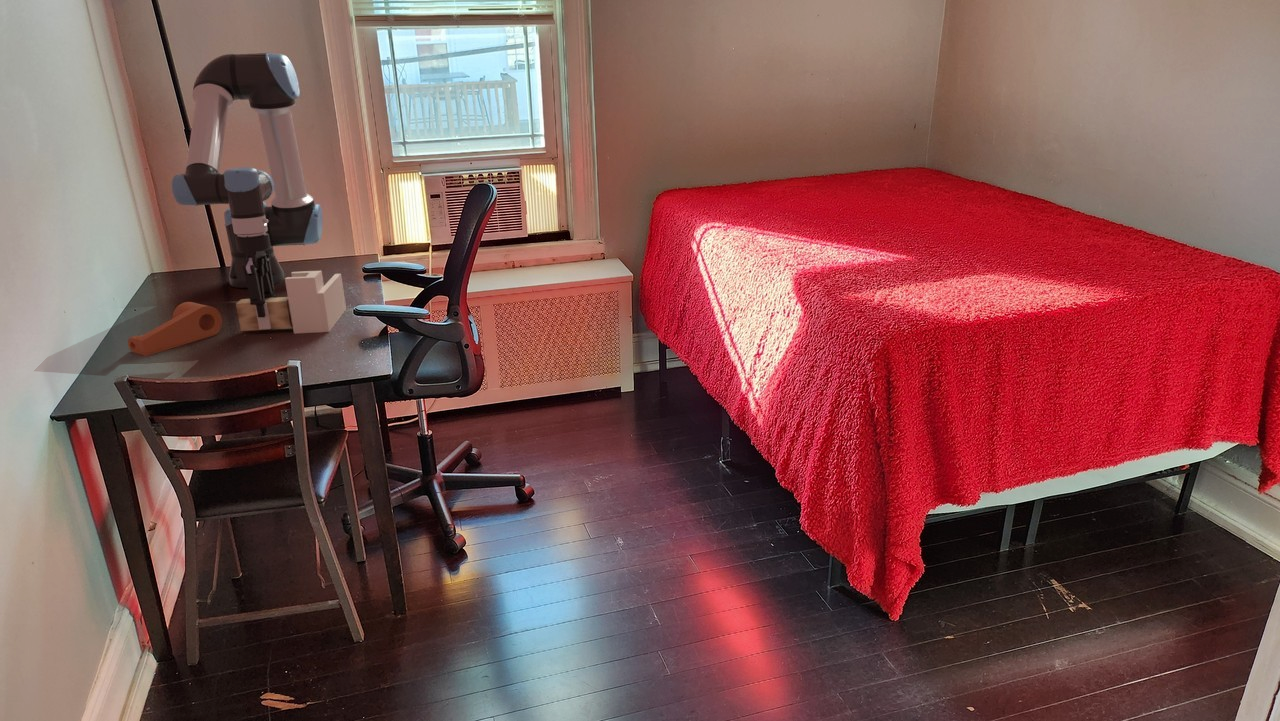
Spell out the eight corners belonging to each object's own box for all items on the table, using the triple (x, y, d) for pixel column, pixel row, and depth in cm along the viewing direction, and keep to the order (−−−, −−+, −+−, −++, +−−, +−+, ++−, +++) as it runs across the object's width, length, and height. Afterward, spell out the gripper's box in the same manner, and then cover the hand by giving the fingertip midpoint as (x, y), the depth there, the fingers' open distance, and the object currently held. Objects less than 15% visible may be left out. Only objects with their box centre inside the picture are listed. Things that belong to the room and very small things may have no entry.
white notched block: (294, 333, 208) (284, 278, 203) (313, 311, 226) (305, 260, 221) (329, 331, 209) (320, 277, 204) (346, 309, 227) (338, 258, 222)
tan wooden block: (241, 330, 208) (235, 303, 205) (246, 325, 211) (241, 299, 209) (303, 327, 209) (298, 300, 206) (307, 322, 213) (303, 296, 210)
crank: (205, 328, 214) (199, 298, 211) (224, 333, 210) (218, 302, 207) (126, 351, 198) (119, 319, 195) (145, 357, 194) (138, 324, 191)
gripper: (256, 240, 194) (273, 335, 202) (278, 226, 210) (293, 315, 218) (222, 241, 193) (241, 337, 201) (247, 227, 209) (263, 316, 217)
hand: (268, 325), depth 210 cm, fingers closed on tan wooden block, 4 cm apart
